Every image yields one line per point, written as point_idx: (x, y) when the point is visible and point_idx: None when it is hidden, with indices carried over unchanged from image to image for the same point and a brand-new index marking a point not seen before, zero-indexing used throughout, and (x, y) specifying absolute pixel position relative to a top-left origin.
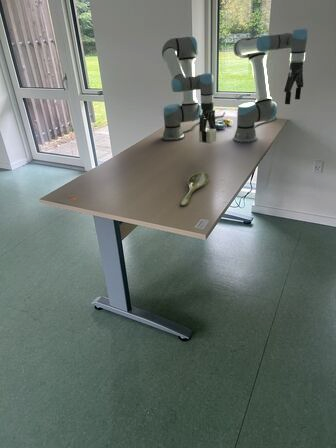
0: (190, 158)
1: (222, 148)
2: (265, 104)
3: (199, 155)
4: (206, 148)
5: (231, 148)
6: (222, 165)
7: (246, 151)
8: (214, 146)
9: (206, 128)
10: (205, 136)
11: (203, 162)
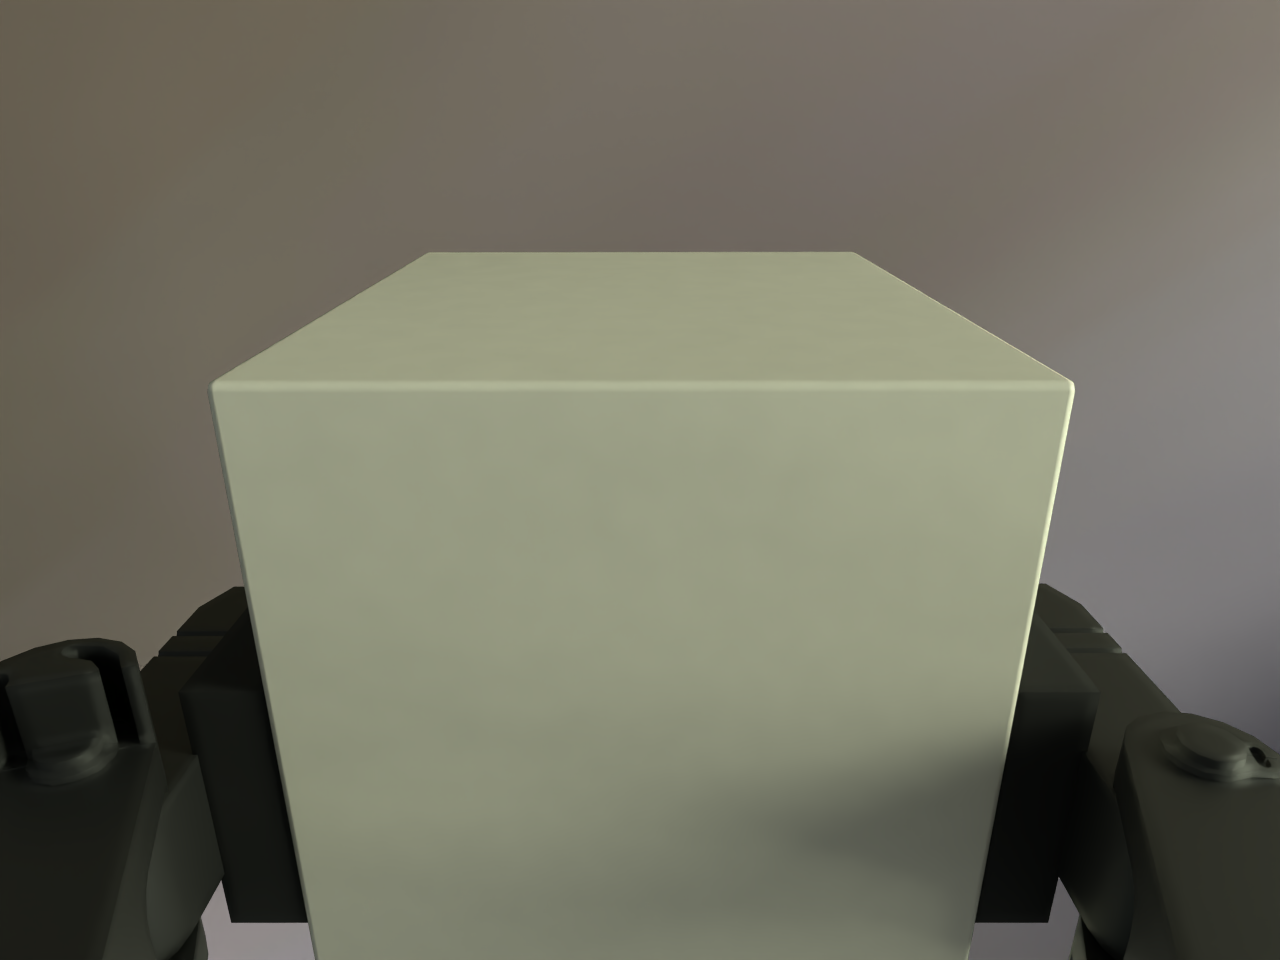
0: (85, 205)
1: (1092, 501)
2: None
3: None
4: (955, 119)
5: (1152, 668)
6: (246, 946)
7: (1063, 955)
8: (1187, 232)
9: (884, 611)
10: None
11: (119, 618)
